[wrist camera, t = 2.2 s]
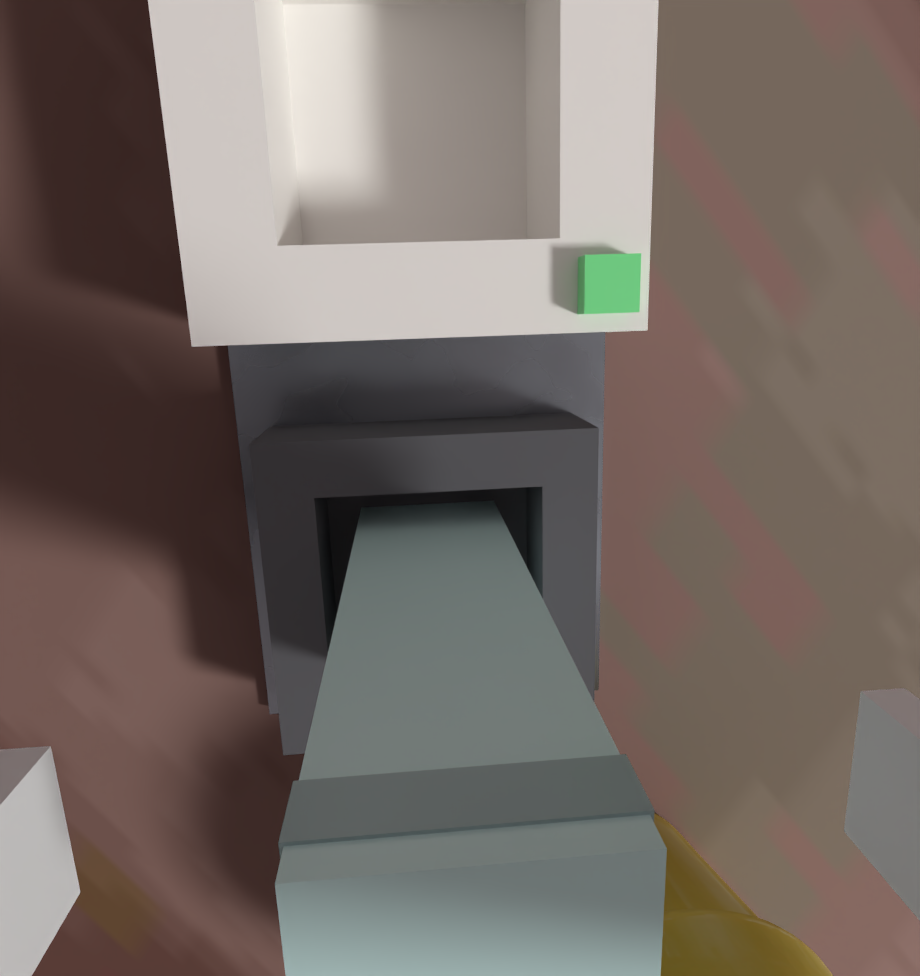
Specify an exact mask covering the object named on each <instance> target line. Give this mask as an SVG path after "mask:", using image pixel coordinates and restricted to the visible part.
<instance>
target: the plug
mask: <svg viewBox="0 0 920 976" xmlns="http://www.w3.org/2000/svg"><path fill="white" fill-rule="evenodd" d="M278 845H279V854H280V864H279V868H278V872H277V877H276V881H275V890H276V899H277V907H278V915H279V924H280V932H281V940H282V948H283V957H284V965H285V973H286V976H661V958H662V938H663V917H664V897H665V877H666V857H667V848H666V846H665V844H664V842H663V840H662V838H661V836H660V834H659V832H658V830H657V828H656V826H655V824H654V808H653V806H652V804H651V802H650V801H649V799H648V797H647V795H646V793H645V791H644V789H643V787H642V785H641V783H640V781H639V779H638V777H637V775H636V773H635V771H634V769H633V767H632V765H631V763H630V761H629V759H628V757H627V756H626V754H622V755H620V753H619V751H618V749H617V747H616V745H615V743H614V741H613V739H612V737H611V735H610V733H609V731H608V729H607V727H606V725H605V723H604V721H603V719H602V717H601V715H600V713H599V711H598V709H597V707H596V705H595V703H594V701H593V699H592V697H591V695H590V693H589V691H588V689H587V687H586V685H585V683H584V681H583V679H582V677H581V675H580V673H579V671H578V669H577V667H576V665H575V663H574V661H573V659H572V657H571V655H570V653H569V651H568V649H567V647H566V645H565V643H564V641H563V639H562V637H561V635H560V633H559V631H558V629H557V627H556V625H555V623H554V621H553V619H552V617H551V615H550V613H549V611H548V609H547V607H546V605H545V603H544V601H543V599H542V596H541V594H540V592H539V590H538V588H537V586H536V584H535V582H534V580H533V578H532V576H531V574H530V572H529V570H528V568H527V566H526V564H525V562H524V560H523V558H522V556H521V554H520V552H519V550H518V548H517V546H516V544H515V542H514V540H513V538H512V536H511V534H510V532H509V530H508V528H507V526H506V524H505V522H504V520H503V518H502V516H501V514H500V512H499V510H498V508H497V506H496V504H495V502H494V501H475V502H457V503H438V504H419V505H400V506H381V507H362V508H361V511H360V516H359V520H358V524H357V529H356V533H355V537H354V542H353V546H352V550H351V555H350V559H349V564H348V568H347V572H346V577H345V581H344V585H343V590H342V594H341V598H340V603H339V607H338V611H337V616H336V620H335V624H334V629H333V633H332V637H331V642H330V646H329V651H328V655H327V659H326V664H325V668H324V672H323V677H322V681H321V685H320V690H319V694H318V698H317V703H316V707H315V711H314V716H313V720H312V724H311V729H310V733H309V737H308V742H307V746H306V751H305V755H304V759H303V764H302V768H301V772H300V777H299V780H298V781H293V784H292V788H291V792H290V796H289V800H288V804H287V809H286V813H285V817H284V821H283V825H282V829H281V833H280V838H279V842H278Z"/></svg>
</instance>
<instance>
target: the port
mask: <svg viewBox="0 0 920 976" xmlns="http://www.w3.org/2000/svg"><path fill="white" fill-rule="evenodd" d="M148 6H149V13H150V21H151V29H152V37H153V45H154V53H155V61H156V69H157V77H158V84H159V92H160V100H161V108H162V116H163V124H164V132H165V140H166V148H167V155H168V163H169V171H170V179H171V187H172V195H173V203H174V211H175V219H176V226H177V234H178V242H179V250H180V258H181V266H182V274H183V282H184V290H185V297H186V305H187V313H188V321H189V329H190V337H191V345H192V347H197V346H225V345H253V344H281V343H309V342H337V341H365V340H393V339H421V338H449V337H477V336H504V335H532V334H560V333H588V332H616V331H644V330H647V326H648V296H649V266H650V237H651V207H652V177H653V147H654V117H655V87H656V58H657V28H658V0H148Z"/></svg>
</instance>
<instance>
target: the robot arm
mask: <svg viewBox="0 0 920 976" xmlns="http://www.w3.org/2000/svg"><path fill="white" fill-rule="evenodd" d="M844 832H845V833H846V834H847V835H848V837H849V838H850V839H851V840H852V841H853V842H854V844H855V845H856V846H857V847H858V848H859V850H860V851H861V852H862V853H863V854H864V855H865V857H866V858H867V859H868V860H869V861H870V863H871V864H872V865H873V866H874V867H875V868H876V870H877V871H878V872H879V873H880V874H881V875H882V877H883V878H884V879H885V880H886V881H887V883H888V884H889V885H890V886H891V887H892V888H893V890H894V891H895V892H896V893H897V894H898V896H899V897H900V898H901V899H902V900H903V901H904V903H905V904H906V905H907V906H908V907H909V909H910V910H911V911H912V912H913V913H914V914H915V916H916V917H917V918H918V919H919V920H920V699H919V698H917V697H916V696H915V695H913V694H912V693H911V692H909V691H908V690H907V689H905V688H900V689H886V690H871V691H861V694H860V703H859V711H858V719H857V727H856V736H855V744H854V752H853V761H852V769H851V777H850V785H849V794H848V802H847V810H846V818H845V827H844ZM79 894H80V888H79V883H78V878H77V873H76V868H75V863H74V859H73V854H72V849H71V844H70V839H69V834H68V829H67V824H66V819H65V814H64V809H63V804H62V799H61V794H60V789H59V784H58V780H57V775H56V770H55V765H54V760H53V755H52V750H51V746H46V747H31V748H17V749H2V750H0V976H32V974H33V972H34V971H35V969H36V967H37V966H38V964H39V962H40V960H41V959H42V957H43V955H44V954H45V952H46V950H47V949H48V947H49V945H50V943H51V942H52V940H53V938H54V937H55V935H56V933H57V931H58V930H59V928H60V926H61V925H62V923H63V921H64V919H65V918H66V916H67V914H68V913H69V911H70V909H71V907H72V906H73V904H74V902H75V901H76V899H77V897H78V896H79Z"/></svg>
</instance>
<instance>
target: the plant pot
mask: <svg viewBox="0 0 920 976" xmlns="http://www.w3.org/2000/svg"><path fill="white" fill-rule="evenodd" d="M654 824H655V826H656V828H657V830H658V832H659V834H660V836H661V838H662V840H663V842H664V844H665V846H666V848H667V857H666V877H665V897H664V917H663V938H662V958H661V976H833V975H832V973H831V972H830V971H829V969H828V968H827V967H826V966H825V964H824V963H823V962H822V961H821V959H820V958H819V957H818V956H817V955H816V954H815V953H814V952H813V951H812V950H811V949H810V948H809V947H808V946H807V945H805V944H804V943H803V942H802V941H800V940H799V939H798V938H796V937H795V936H794V935H792V934H791V933H789V932H787V931H785V930H784V929H782V928H780V927H778V926H776V925H774V924H772V923H770V922H768V921H766V920H763V919H760V918H758V917H757V916H756V915H755V914H754V913H753V912H752V911H751V909H750V908H749V907H748V906H747V905H746V904H745V903H744V902H743V901H742V900H741V899H740V898H739V897H738V896H737V895H736V894H735V892H734V891H733V890H732V889H731V888H730V887H729V886H728V885H727V884H726V883H725V882H724V881H723V880H722V879H721V878H720V877H719V875H718V874H717V873H716V872H715V871H714V870H713V869H712V868H711V867H710V866H709V865H708V864H707V863H706V862H705V861H704V859H703V858H702V857H701V856H700V855H699V854H698V853H697V852H696V851H695V850H694V849H693V848H692V846H691V845H690V844H689V843H688V842H687V841H686V840H685V839H684V837H683V836H682V835H681V834H680V833H679V832H678V831H677V830H676V829H675V828H674V827H673V826H672V825H671V824H670V823H669V822H667V821H666V820H665V819H663V818H662V817H660V816H659V815H657V814H655V813H654Z"/></svg>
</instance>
